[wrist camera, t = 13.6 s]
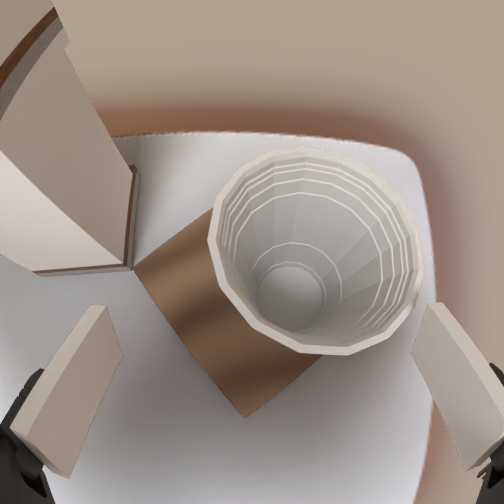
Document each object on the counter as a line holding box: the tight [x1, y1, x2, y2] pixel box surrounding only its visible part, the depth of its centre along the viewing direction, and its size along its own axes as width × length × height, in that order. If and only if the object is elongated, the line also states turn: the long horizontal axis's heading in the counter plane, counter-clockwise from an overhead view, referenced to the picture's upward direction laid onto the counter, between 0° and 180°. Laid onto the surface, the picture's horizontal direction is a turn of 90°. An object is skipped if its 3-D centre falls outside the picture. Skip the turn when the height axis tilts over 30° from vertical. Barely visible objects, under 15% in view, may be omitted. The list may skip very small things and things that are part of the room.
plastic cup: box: [207, 147, 424, 355], centre depth 19 cm, size 11×11×12 cm
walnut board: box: [133, 207, 323, 418], centre depth 26 cm, size 16×16×1 cm
